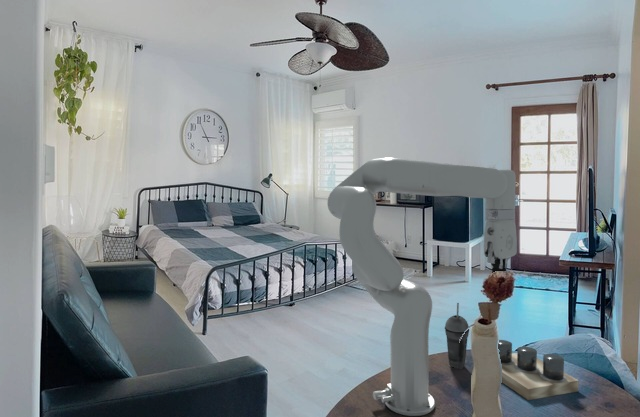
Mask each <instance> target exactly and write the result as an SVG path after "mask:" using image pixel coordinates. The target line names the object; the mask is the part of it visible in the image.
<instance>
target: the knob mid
mask: <svg viewBox="0 0 640 417" xmlns="http://www.w3.org/2000/svg"><path fill="white" fill-rule="evenodd" d="M516 353H517V367H518V368H520V369H522V370H526V371H535V370H536V369H537V358H538V357H537V356H538V351H537V349H535V348H534V347H529V346H519V347H517V352H516Z"/></svg>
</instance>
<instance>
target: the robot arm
mask: <svg viewBox="0 0 640 417" xmlns="http://www.w3.org/2000/svg"><path fill="white" fill-rule="evenodd" d="M516 177H517V176H516V173H515V171H514V170H513V169H498V168H494V167H482V166H474V165H473V166H471V165H463V164H461V165H459V164H452V163H443V162H434V161H424V160H418V159H417V160H416V159H406V158H396V157H381V158H372V159H370V160H368V161H366V162H365V163H364V164H362V165H361V166H359V168H357V169H356V170H355V171H354V172H352V173H351V174H350V175H349V176H347V177H346V178H344V180H343V181H341V182H340V183H339V184H338V185H337V186H335V187H334V188H332V191H331V192H330V193H329V195H328V197H327V203H326V204H327V208H328V210H329V213H330V214H331V215H332V216H334V217H335V218H336V219H338V220H340V221H339V241H340V245H341V247H342V249H343V250H344V252H345V253H346V254H347V256H348V257H349V258H350V260H351V271H352V274H353V275H354V276H355V277H354V278H355V279H356V280H357V281H358V282H359V284H361V286H362V287H363V288H364V289H365V291H366V292H368V294H369V295H370V296H371V298H373V299H374V300H375V301H376V303H378V304H379V305H380V307H382V308H383V309H385V310H387V311H389V312H390V313H391V314H393V315H394V318H393V322H392V325H391V329H390V337H389V338H390V339H389V340H390V342H389V343H390V344H389V346H390V383H387V385H386V388H384V389H382V390H376V391H373V392H372V397H373V400H374V401H375V400H376V401H377V400H379V399H380V400H381V402H382V403H385V406H386V407H387V408H388V409H389V410H391V411H392V412H393V413H396V414H400V415H403V416H408V417H420V416H424V415H428V414H429V413H431V412H433V411H434V409H435V406H436V404H435V403H436V402H435V399H434V397H433V395H431V394H430V393H429V331H430V329H429V328H430V323H431V318H432V312H433V301H432V296H431V295H430V293H429V292H428V291H427V290H426V288H424V287H423V286H422V285H420V284H418V283H416V282H413V281H411V280H408V279H406V278H404V269H403V266H402V265H401V263H400V261H399V260H398V259H397V258H396V257H395V255H393V253H392V252H391V251H390V250H389V248H387V246H386V245H385V243H383V241H382V240H381V239H380V238H379V235H378V234H377V233H376V232H375V229H374V228H375V227H374V223H375V222H374V219H375V217H376V216H375V215H376V211H377V201H376V198H375V195H376V194H377V193H378V192H380V193H381V192H383V193H392V194H394V193H395V194H404V195H405V194H406V195H418V196H427V197H428V196H431V197H465V198H475V199H484V201H485V203H484V220H485V226H484V234H483V235H484V236H483V255H484V256H485V257H486V258H487V259H486V262H487V264H488V263H489V264H490V267H491V274H492V273H493V272H495V271H506V272H507V268H508V261H509V260H510V259H511V258H512V257H514V256H515V255H517V253H518V241H517V240H518V239H517V238H518V237H517V226H516V189H517V188H516V186H517V185H516V179H517V178H516Z"/></svg>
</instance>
